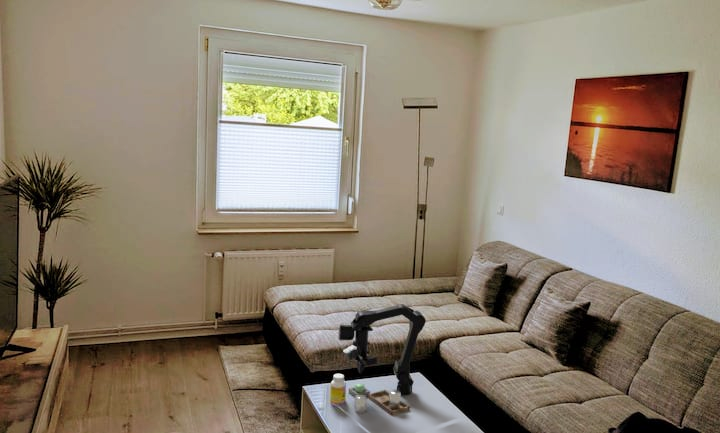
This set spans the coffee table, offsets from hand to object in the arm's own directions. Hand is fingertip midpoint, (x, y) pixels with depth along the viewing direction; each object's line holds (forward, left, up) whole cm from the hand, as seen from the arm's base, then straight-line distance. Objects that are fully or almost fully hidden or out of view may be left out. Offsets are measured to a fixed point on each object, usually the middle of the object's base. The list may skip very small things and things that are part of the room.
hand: (360, 372), depth 254 cm
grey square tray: (0, 0, -11) cm, 11 cm away
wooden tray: (-6, +14, -11) cm, 19 cm away
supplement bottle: (+12, +1, -12) cm, 17 cm away
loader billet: (-6, +18, -10) cm, 22 cm away
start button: (0, 0, -9) cm, 9 cm away
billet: (+8, +13, -11) cm, 19 cm away
